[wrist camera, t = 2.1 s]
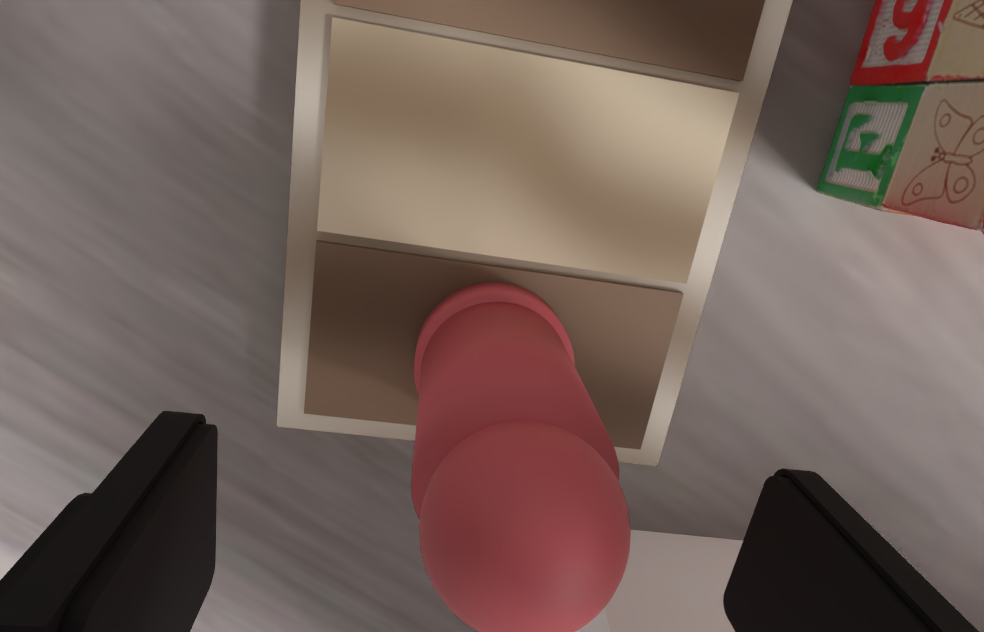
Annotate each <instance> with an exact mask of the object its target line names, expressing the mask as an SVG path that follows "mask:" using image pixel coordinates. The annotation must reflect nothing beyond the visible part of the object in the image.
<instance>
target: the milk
mask: <svg viewBox="0 0 984 632" xmlns="http://www.w3.org/2000/svg"><path fill="white" fill-rule="evenodd" d="M742 543H743V541H742V540H732V539H722V538H712V537H701V536H691V535H681V534H671V533H660V532H650V531H640V530H631V537H630V552H629V557H628V562H627V565H626V569H625V572H624V575H623V577H622V580H621V582H620V584H619V586H618V588H617V590H616V591H615V593H614V595H613V597H612V598H611V600H610V601H609V603H608V604H607V605H606V606H605V608H604V609H603V610H602V611H601V612H600V613H599V614H598V615H597V616H596V617H595V618H594V619H593V620H592V621H590V622H589V623H588V624H587V625H585V626H584V627H582V628H581V629H579V630H578V631H576V632H735V630H734V629H733V627H732V625H731V623H730V622H729V620H728V618H727V616H726V614H725V610H724V605H723V596H724V592H725V589H726V586H727V583H728V581H729V578H730V575H731V573H732V570H733V567H734V564H735V562H736V559H737V556H738V554H739V551H740V548H741V545H742Z"/></svg>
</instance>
